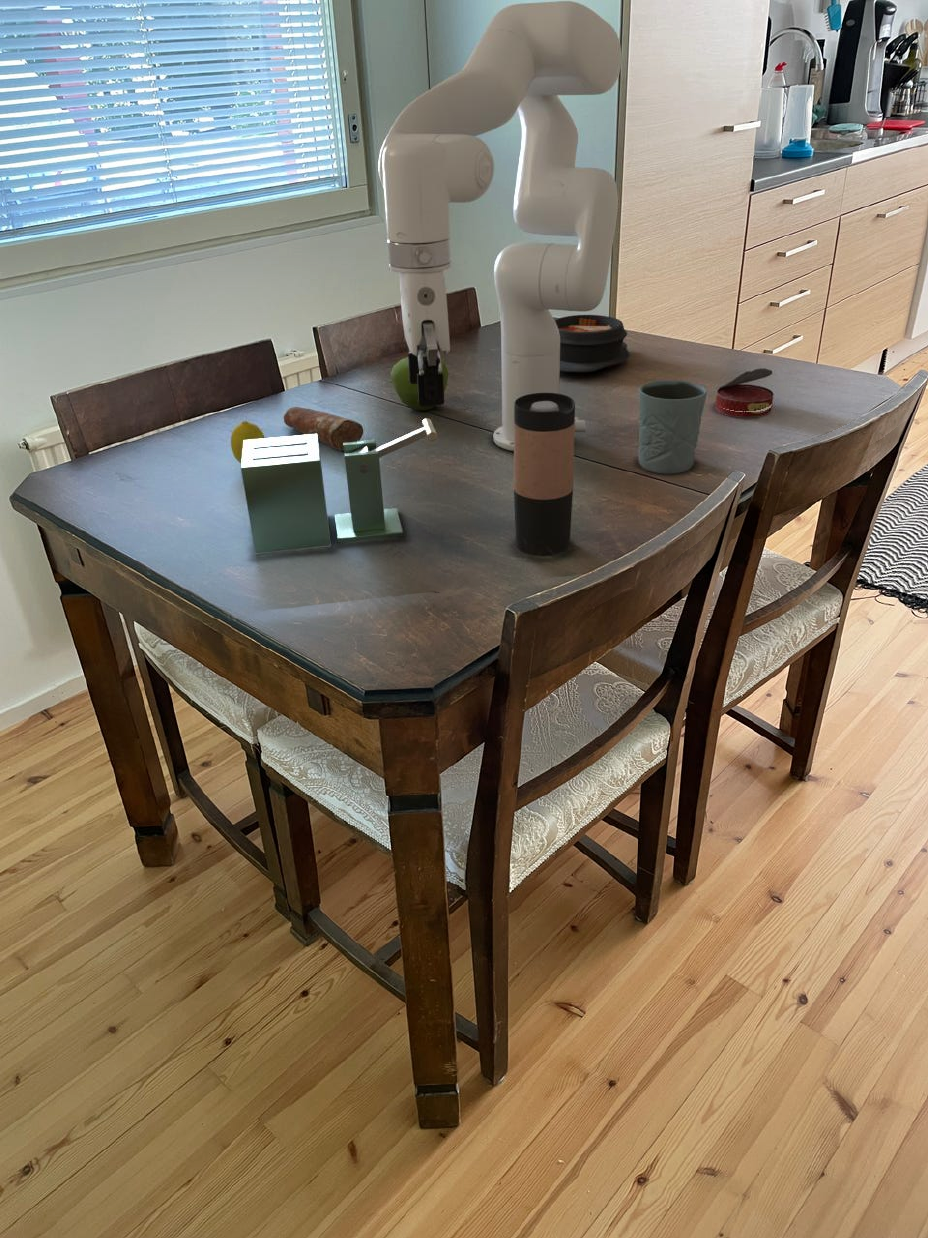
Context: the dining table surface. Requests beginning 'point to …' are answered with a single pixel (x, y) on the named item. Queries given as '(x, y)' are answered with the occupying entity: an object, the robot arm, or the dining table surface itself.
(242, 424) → the lemon
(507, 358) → the robot arm
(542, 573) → the dining table surface
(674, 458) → the green embossed cup
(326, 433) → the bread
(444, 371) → the apple
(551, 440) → the travel mug
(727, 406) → the canned food
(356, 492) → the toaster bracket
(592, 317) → the casserole
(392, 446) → the lever
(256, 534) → the toaster
